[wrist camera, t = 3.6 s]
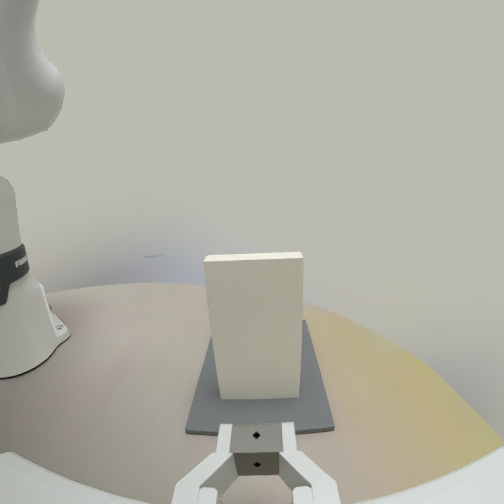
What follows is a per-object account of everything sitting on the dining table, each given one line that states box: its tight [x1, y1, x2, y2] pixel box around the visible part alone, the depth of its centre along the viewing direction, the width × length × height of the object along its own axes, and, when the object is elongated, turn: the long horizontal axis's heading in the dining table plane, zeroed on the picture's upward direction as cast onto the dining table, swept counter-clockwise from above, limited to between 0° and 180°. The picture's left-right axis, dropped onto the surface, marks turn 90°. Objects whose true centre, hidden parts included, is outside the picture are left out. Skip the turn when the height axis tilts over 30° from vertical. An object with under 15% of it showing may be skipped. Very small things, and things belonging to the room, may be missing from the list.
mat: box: [185, 320, 335, 435], centre depth 29 cm, size 19×12×1 cm, turn 179°
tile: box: [204, 252, 303, 399], centre depth 23 cm, size 2×7×13 cm, turn 88°
